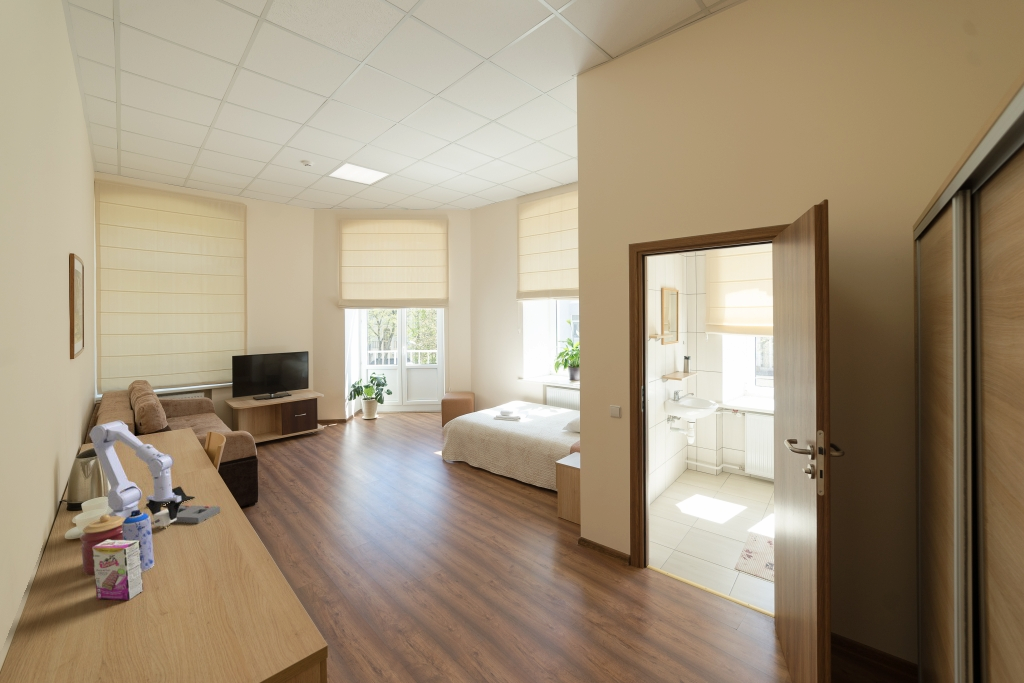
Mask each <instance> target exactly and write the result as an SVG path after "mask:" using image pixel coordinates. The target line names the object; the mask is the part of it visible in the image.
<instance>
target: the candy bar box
mask: <svg viewBox="0 0 1024 683" xmlns="http://www.w3.org/2000/svg"><path fill="white" fill-rule="evenodd" d="M92 550H93V561H94V571H95V574H94V580H95V594H96V599H97V600H114V601H116V600H117V601H118V600H119V601H130V600H132V599H133V597H134V598H135V597H136V596H138V595H139V594H141V593H143V592H144V586H143V585H144V584H143V575H142V574H143V572H142V571H141V558H140V546H139V541H137V540H105V541H103V542H101V543H99V544H97V545H95V546H93V547H92ZM140 592H141V593H140ZM137 594H138V595H137Z"/></svg>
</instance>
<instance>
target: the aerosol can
mask: <svg viewBox="0 0 1024 683" xmlns="http://www.w3.org/2000/svg"><path fill="white" fill-rule="evenodd" d="M151 518H152V517H151V516H150V515H149V514H147V513H146V512H145V513H144V512H141V510H140V509H138V510H134V511H131V515H130V516H129V517H127V518H126V519H125V520H124V521H123V522H122V532H123V540H137V541H139V546H140V558H141V571H142V573H144V572H143V571H145V572H147V571H149V570H151V569H152V568H154V567H153V566H155V565H154V564H156V563H155V557H154V545H153V534H152V533H153V532H152V519H151ZM150 568H151V569H150ZM148 569H149V570H148ZM146 570H147V571H146Z"/></svg>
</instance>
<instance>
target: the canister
mask: <svg viewBox="0 0 1024 683" xmlns="http://www.w3.org/2000/svg"><path fill="white" fill-rule="evenodd" d="M108 514H109V513H108ZM108 514H102V515H100V517H99V519H97V520H94V521H92V522H90V523H89V524H88V525H87V526H85V527H84V528H83V529H82V532H83V533H82V534H81V535H80V537H79V539H80V541H81V542H82V545H81V546H80V550H81V557H82V565H81V566H82V570H83V573H84V572H85V574H86V573H87V574H86V575H95V571H94V561H93V550H92V547H93V546H95V545H97V544H99V543H101V542H103V541H105V540H123V532H122V522H123V521H124V520H125V519H126V518H124V517H120V516H111V517H110V516H109V515H108Z"/></svg>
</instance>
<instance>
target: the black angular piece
mask: <svg viewBox="0 0 1024 683" xmlns="http://www.w3.org/2000/svg"><path fill="white" fill-rule="evenodd" d="M172 493H174V495H177V496H181V500H182V502H184V501H187V500H190V499H192V498H195V497H196V496H191V495H190V496H189V495H187V494H186V493H185V492H184V489H183V488H182V487H181V486H177V487H174V488H172ZM195 499H196V498H195ZM192 500H193V499H192ZM190 501H191V500H190ZM187 502H188V501H187ZM167 503H169V502H168V501H162V504H161V506H163V505H165V504H167Z"/></svg>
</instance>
